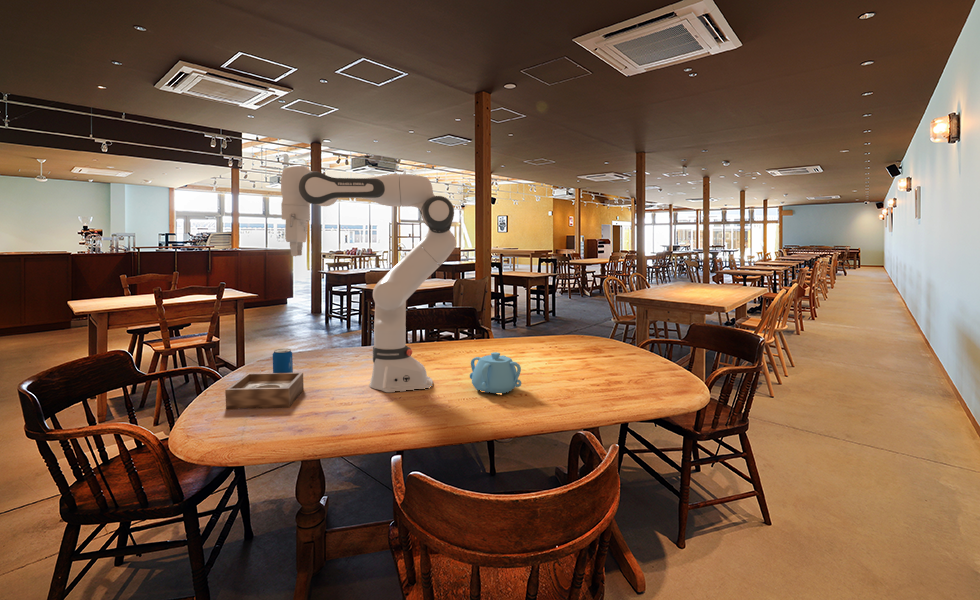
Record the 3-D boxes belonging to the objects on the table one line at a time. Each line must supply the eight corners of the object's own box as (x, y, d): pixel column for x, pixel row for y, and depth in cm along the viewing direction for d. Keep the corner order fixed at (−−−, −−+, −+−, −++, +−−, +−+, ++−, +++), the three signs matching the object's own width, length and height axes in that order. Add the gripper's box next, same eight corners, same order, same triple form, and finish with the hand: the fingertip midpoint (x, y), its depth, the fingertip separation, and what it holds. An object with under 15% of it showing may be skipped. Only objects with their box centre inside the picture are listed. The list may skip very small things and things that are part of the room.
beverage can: (285, 386, 163) (284, 352, 161) (269, 384, 164) (268, 351, 162) (296, 381, 169) (296, 349, 168) (281, 379, 170) (280, 347, 169)
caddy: (303, 389, 159) (303, 372, 159) (289, 407, 142) (288, 388, 141) (247, 390, 157) (247, 373, 156) (226, 409, 139) (225, 389, 138)
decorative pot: (510, 383, 174) (511, 347, 172) (523, 396, 158) (524, 357, 156) (468, 384, 170) (468, 348, 168) (476, 398, 154) (477, 358, 153)
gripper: (301, 213, 147) (301, 256, 149) (309, 217, 167) (310, 255, 168) (279, 212, 145) (280, 256, 147) (291, 216, 165) (291, 255, 167)
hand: (296, 255), depth 158 cm, fingers open, 8 cm apart
